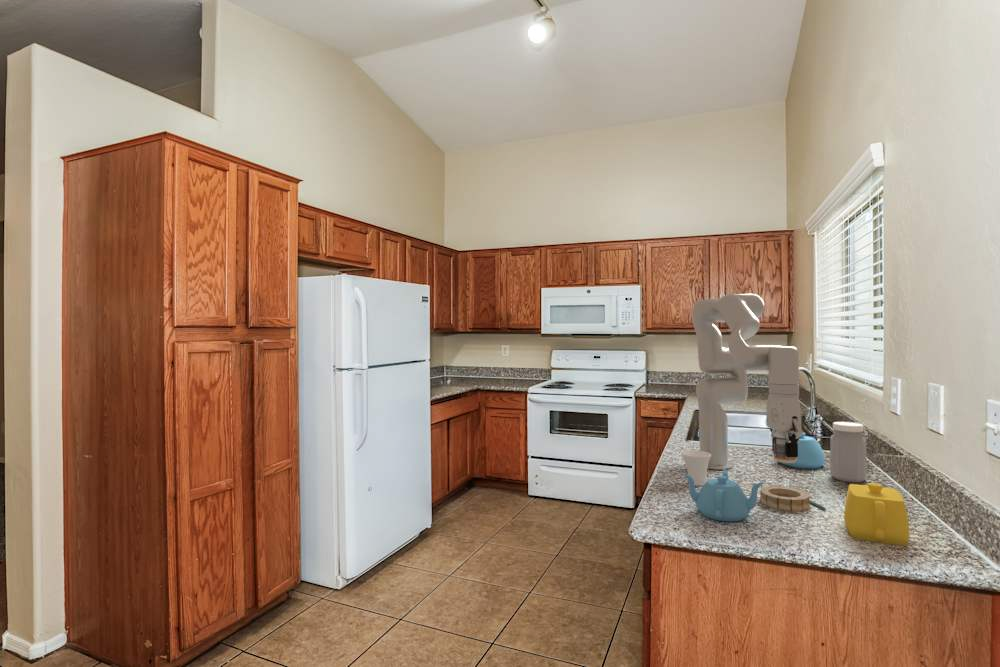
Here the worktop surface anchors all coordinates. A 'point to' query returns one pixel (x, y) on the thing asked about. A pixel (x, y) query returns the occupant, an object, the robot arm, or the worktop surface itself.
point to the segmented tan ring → (784, 498)
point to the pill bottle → (781, 448)
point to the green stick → (817, 505)
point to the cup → (697, 465)
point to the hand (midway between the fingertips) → (784, 453)
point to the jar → (848, 452)
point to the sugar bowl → (808, 454)
